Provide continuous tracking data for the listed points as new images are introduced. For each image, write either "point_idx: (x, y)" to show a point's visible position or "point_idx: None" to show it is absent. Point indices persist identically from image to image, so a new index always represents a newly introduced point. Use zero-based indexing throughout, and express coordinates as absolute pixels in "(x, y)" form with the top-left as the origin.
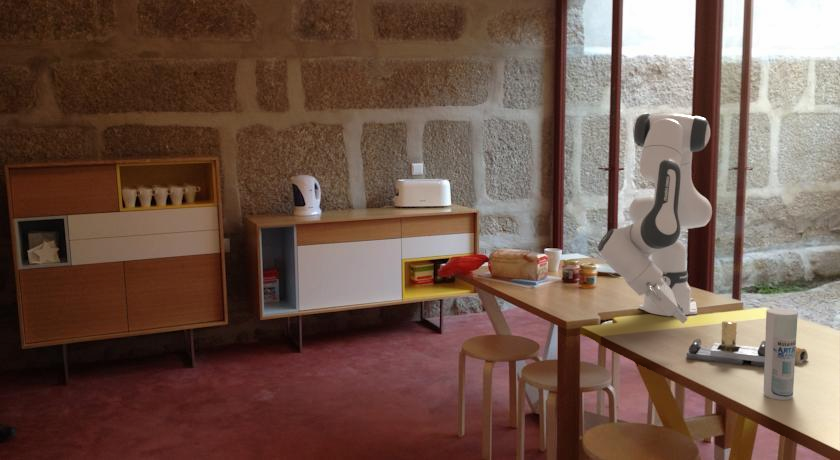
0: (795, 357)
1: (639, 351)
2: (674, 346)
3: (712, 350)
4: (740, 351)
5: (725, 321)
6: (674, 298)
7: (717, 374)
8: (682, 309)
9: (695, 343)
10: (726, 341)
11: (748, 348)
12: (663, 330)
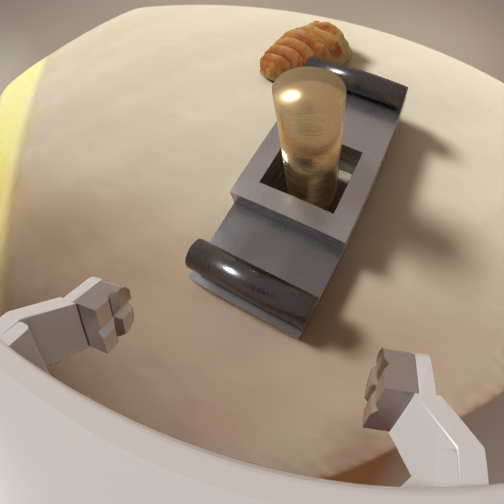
0: (348, 48)
1: None
2: (139, 330)
3: (348, 235)
4: (356, 142)
5: (283, 96)
6: (202, 484)
7: (480, 280)
8: (116, 296)
9: (262, 282)
10: (337, 160)
11: None
12: (7, 295)
